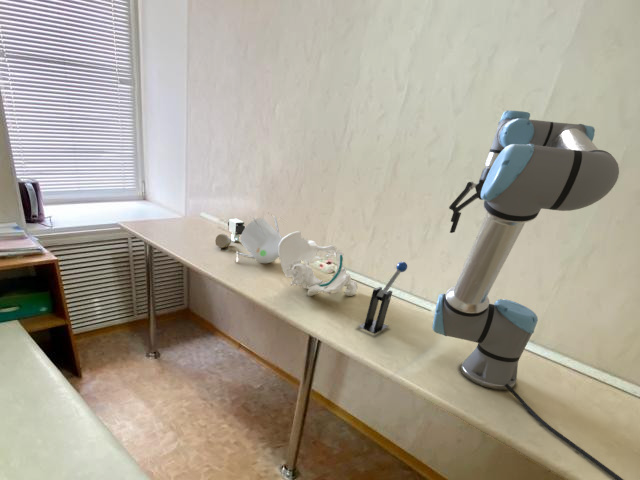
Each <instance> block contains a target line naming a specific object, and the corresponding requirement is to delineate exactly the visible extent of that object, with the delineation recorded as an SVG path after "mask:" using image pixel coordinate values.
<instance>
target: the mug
mask: <svg viewBox="0 0 640 480" xmlns="http://www.w3.org/2000/svg"><path fill="white" fill-rule="evenodd" d="M231 239H232V238H230V237H229V236H228V235H227V234H225V233H220V234H217V236H216V237H215V242H214V243H215V244H216V247H218V248H221V249H224V248H225V249H226V248H227V247H228V246H230V245H231V244H232V240H231Z"/></svg>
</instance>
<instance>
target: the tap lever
mask: <svg viewBox="0 0 640 480" xmlns="http://www.w3.org/2000/svg"><path fill="white" fill-rule="evenodd" d="M407 270H408V264H407V262H405V261H400V262H397V264H396V271H395V273H394V274H393V275H392V277H391V278H390V279H389V281H388V282H387V283H386V285H385V286H384V288H382V290H381V289H380V291H379V292H378V294H377V295H376V296H377V300H379V302H382V299H383V295H384V293H386V292H388V291H389V289H390V288H391V287H392V285H393V284H394V282H395V281H396V280H397V278H398V277H399V275H400V274H401V273H404V272H407Z"/></svg>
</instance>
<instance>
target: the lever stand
mask: <svg viewBox="0 0 640 480" xmlns="http://www.w3.org/2000/svg"><path fill="white" fill-rule="evenodd" d="M380 289H381V290H383V287H382V286H379V287H376V288H374V289H372V294H371V297H370V301H369V306H368V308H367V313H366V316H365V320H364V323H362V324H359V325H358V326H357V327H358V328H361V329H362V330H365V331H368V332H369V333H372V334H374V335H376V334H378V333H379V332H381V331H383V330H385V329H386V328H389V325H387V324H384V323H385V320H386V317H387V313H388V309H389V306H390V302H391V299H392V295H393V291H392V290H388V291H387V292H386V293H384V295H383V299H382V301H380V300H377V296H376V295H377V294H378V292H379V291H380ZM379 302H380V306H379V310H378V313H377V317H376V319H375V316H376V312H377V309H378V305H379Z"/></svg>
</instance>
